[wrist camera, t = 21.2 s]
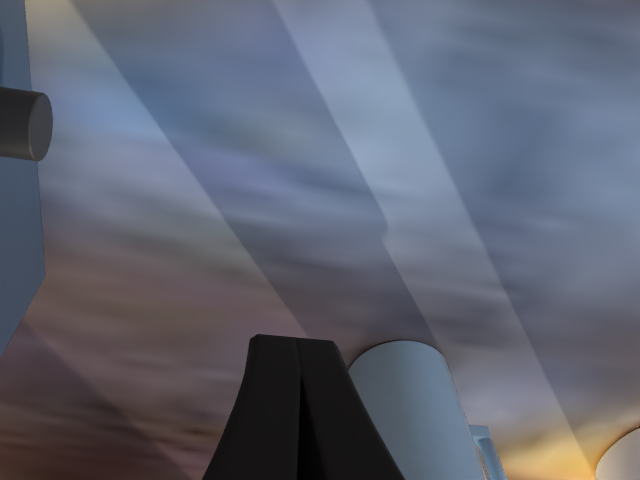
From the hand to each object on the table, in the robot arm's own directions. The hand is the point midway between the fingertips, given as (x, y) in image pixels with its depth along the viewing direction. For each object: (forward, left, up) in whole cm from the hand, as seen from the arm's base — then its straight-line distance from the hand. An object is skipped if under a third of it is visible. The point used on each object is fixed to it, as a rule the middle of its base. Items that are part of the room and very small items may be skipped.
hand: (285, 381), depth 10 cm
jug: (+3, -12, -10) cm, 16 cm away
